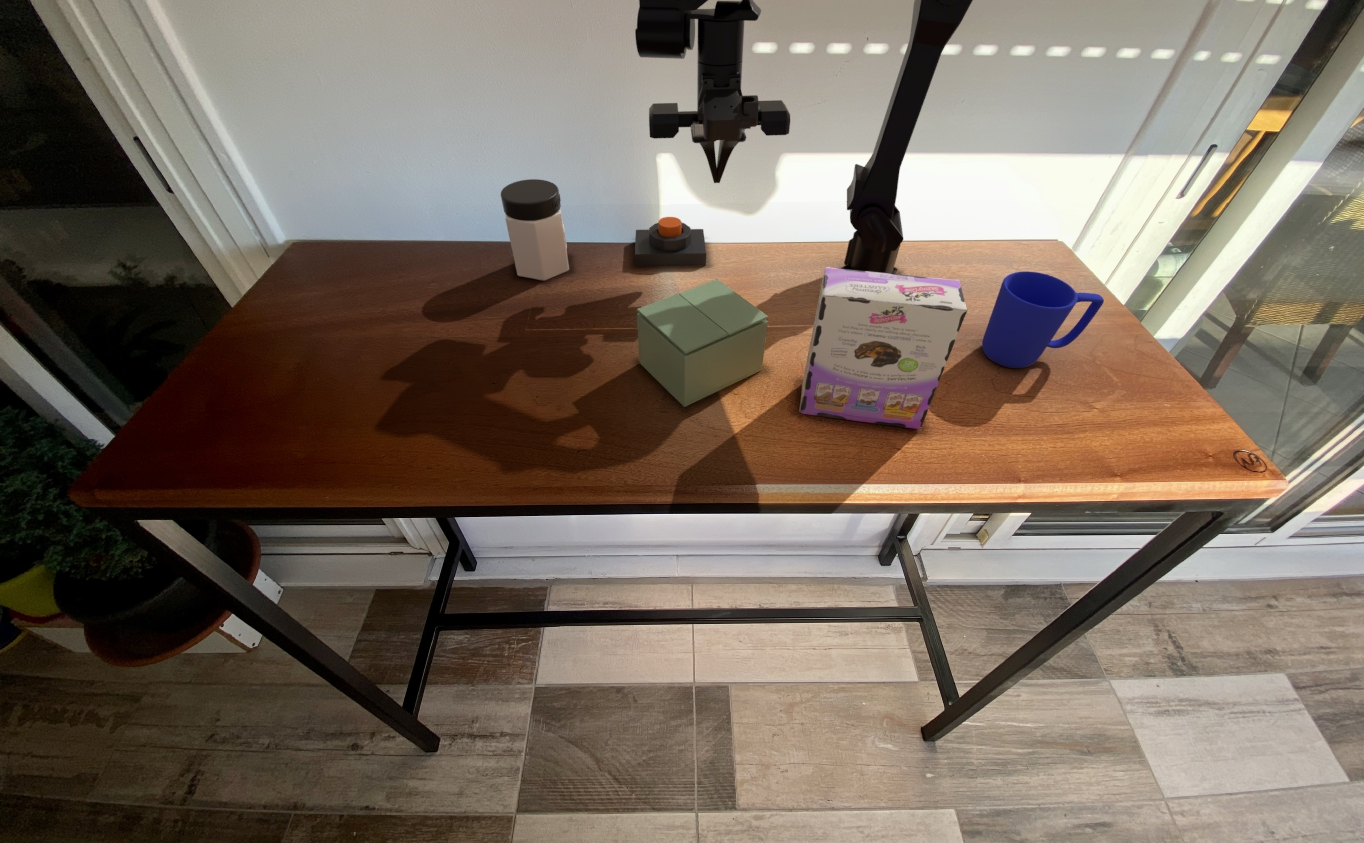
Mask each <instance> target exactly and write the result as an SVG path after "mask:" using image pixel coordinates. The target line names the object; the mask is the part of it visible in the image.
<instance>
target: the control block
mask: <svg viewBox="0 0 1364 843" xmlns="http://www.w3.org/2000/svg"><path fill="white" fill-rule="evenodd" d="M705 240H706V239H705V232H704V228H692V227H690V226H689V225H687V224H686V223H684V222H682V232H681V235H679V236H676V237H664V236H661V235H659V231H658V222H656V223H654V224H653V225H651V226H650V227H649V228H648V229H635V240H634V244H635V245H634V266H635V267H699V266H700V267H703V266H704V267H706V265H707V248H706V241H705Z"/></svg>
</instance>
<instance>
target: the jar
mask: <svg viewBox="0 0 1364 843" xmlns="http://www.w3.org/2000/svg"><path fill="white" fill-rule="evenodd" d="M500 198H501V202H502V208H503V212H504V220H505V224H506V229H507V233H508V237H509V242H510V247H511V251H512V256H513V261H514V267H515V271H516V275H517V276H518V277H521V278H527V279H533V280H538V281H543V282H544V281H548V280H550V279H552V278H554V277H557V276H559V275H562V274H564V273H567V272H569V270H570V265H569V259H568V258H569V257H568V251H567V248H568V246H567V245H568V244H567V237H566V230H565V224H564V222H563V215H562V208H561V207H562V205H561V202H562V200H561V194H560V191H559V187H558V186H557V185H556V184H555V182H551V181H548V180H545V179H539V178H535V179H533V178H532V179H522V180H517V181H514V182H511V183H509V184H507V185H506V186H504V187H503V188H502V189H501V191H500Z"/></svg>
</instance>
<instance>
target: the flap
mask: <svg viewBox="0 0 1364 843" xmlns="http://www.w3.org/2000/svg"><path fill="white" fill-rule="evenodd" d="M678 294H679V295H680V296H681V297H683V298H684V299H685V300H686V301H688V302H689V303H690V304H691V305H693V306H694V307H695V308H696V309H698V310H699V311H700V312H701V313H703V314H704V315H705V316H706V317H708V318H709V319H710V320H711V321H713V322H714V323H715V324H716V325H718V326H719V327H720V328H721V329H723V330H724V331H725V332H726V333H727V334H728V335H731V334H733V333H735V332H738V331H740V330H742V329H744V328H747V327H749V326H751V325H754V324H756V323H758V322H760V321H763V320H765V319H766V320H767V319H769V315H767V314H766V313H764V312H763V311H762V310H760V309H759V308H757V307H756V306H755V305H754V304H752V303H751V302H750V301H748V300H747V299H746V298H744V297H743V296H741V294H739V293H737V292H736V291H735V290H733V289H732V288H730V287H729V286H728V285H726V284H725V283H723V282H722V281H720V280H719V279H718V278H716V279H712V280H710V281H708V282H705V283H703V284H700V285H697V286H695V287H691V288H689V289H687V290H684V291H682V292H679V293H678Z"/></svg>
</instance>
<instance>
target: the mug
mask: <svg viewBox="0 0 1364 843" xmlns="http://www.w3.org/2000/svg"><path fill="white" fill-rule="evenodd" d="M1104 301H1105V299H1104V298H1103V296H1102V295H1100V294H1098V293H1093V292H1092V293H1091V292H1076V291H1075V289H1074V288H1073V287H1072V286H1071V285H1070V284H1069V283H1067V282H1066V281H1063V280H1062V279H1060V278H1059V277H1058V278H1057V277H1056V276H1052V275H1050V274H1046V273H1042V272H1037V271H1026V270H1025V271H1016V272H1012V273H1010V274H1008V275H1006V276H1005V277H1004V278H1003V280H1002V282H1001V285H1000V288H999V290H998V294H997V297H996V299H995V302H994V306H993V308H992V312H991V315H990V317H989V320H988V323H987V326H986V328H985V332H984V335H983V337H982V345H981V346H982V347H981V348H982V351H983V353H984V354H985V356H986V357H987V358H988V359H990V360H991V361H992V362H993V363H996V364H997V365H1000V366H1003V367H1006V368H1011V369H1023V368H1028V367H1030V366H1032V365H1033V364H1035V363H1036V362H1037V361H1038V360H1039V359H1040V357H1041V356H1042V354H1043V353H1044V352H1045V351H1046V349H1047V348H1050V349H1060V348H1064V347H1066V346H1068V345H1070V344H1071V343H1073V342H1074V341H1075V340H1076V339H1077V338H1078V337H1079V336H1080V335H1081V334H1082V333H1083V332H1084V331H1085V329H1086V328H1087V327H1088V325H1090V323H1091V322H1092V320H1093V319H1094V317H1095V316H1096V315H1097V313H1098V312H1099V311H1100V309H1101V307H1102V306H1103V304H1104ZM1083 302H1084V303H1086V302H1087V303H1090V304H1089V306H1088V307H1087V309H1086V310H1085V312H1084V313H1083V315H1082V316H1081V317H1080V319H1079V320H1078V322H1077V323H1076V324H1075V325H1074V326H1073V328H1071V330H1070V331H1069V332H1067V334H1065V335H1064V336H1062V337H1060V338H1059V339H1054V340H1053V338H1054V337H1055V336H1056V334H1057V333H1058V331H1059V329H1061V326H1062V325H1063V323H1064V322H1065V321H1066V320H1067V318H1068V316H1069V315H1070V313H1071V312H1072V310H1073V309H1074V307H1075V306H1076V304H1077V303H1083Z"/></svg>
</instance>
